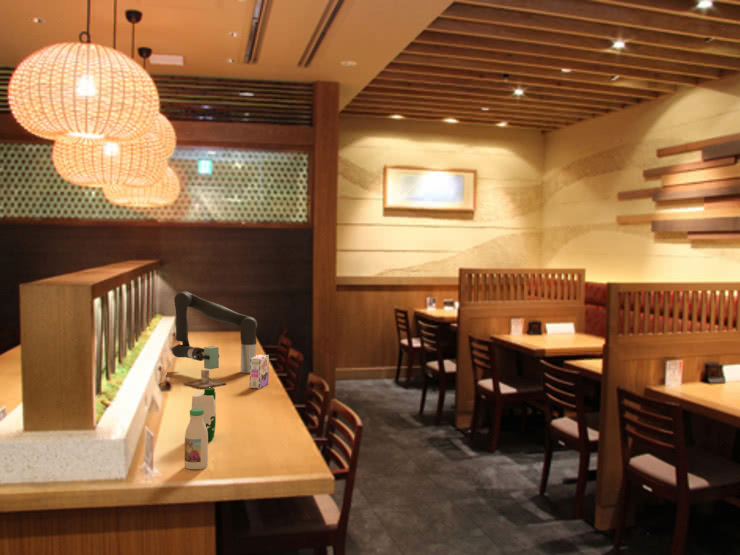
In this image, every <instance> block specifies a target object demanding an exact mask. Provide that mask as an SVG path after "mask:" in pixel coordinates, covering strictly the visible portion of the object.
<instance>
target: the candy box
mask: <svg viewBox="0 0 740 555" xmlns="http://www.w3.org/2000/svg"><path fill="white" fill-rule="evenodd" d="M269 363H270V356H269V354H258V355H256V357H253V358H250V373H249V389H254V390H257V389H259V390H260V389H262V388H264V387H265V385H266V386H267V385H269V369H270V368H269V366H270V364H269Z"/></svg>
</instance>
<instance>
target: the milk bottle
mask: <svg viewBox="0 0 740 555" xmlns="http://www.w3.org/2000/svg"><path fill="white" fill-rule="evenodd" d="M203 414H204V410H203V409H200V408H195V409H192V408H191V409H190V410H189V417H190V419H189V423H188V425H187V427H186V430H185V435H184V468H185V467H186V468H188V469H187V470H189V469H200V470H203V468H204V469H206V468H207V467H208V465H209V463H208V462H209V442H208V432H207V428H206V426H205V423H204V421H203V416H204V415H203ZM205 467H206V468H205ZM186 468H185V469H186Z"/></svg>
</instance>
